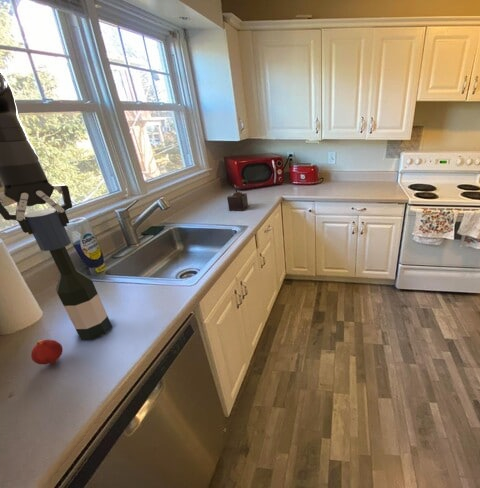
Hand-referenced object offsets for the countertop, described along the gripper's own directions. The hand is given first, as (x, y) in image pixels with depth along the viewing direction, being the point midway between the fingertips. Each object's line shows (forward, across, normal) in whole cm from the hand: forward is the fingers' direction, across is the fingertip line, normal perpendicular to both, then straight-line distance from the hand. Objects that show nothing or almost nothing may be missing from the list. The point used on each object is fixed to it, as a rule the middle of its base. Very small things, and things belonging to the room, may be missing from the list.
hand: (48, 229), depth 71 cm
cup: (+5, 0, 0) cm, 5 cm away
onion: (+34, +11, +6) cm, 36 cm away
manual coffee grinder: (+34, -98, -70) cm, 126 cm away
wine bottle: (+34, 0, 0) cm, 34 cm away
